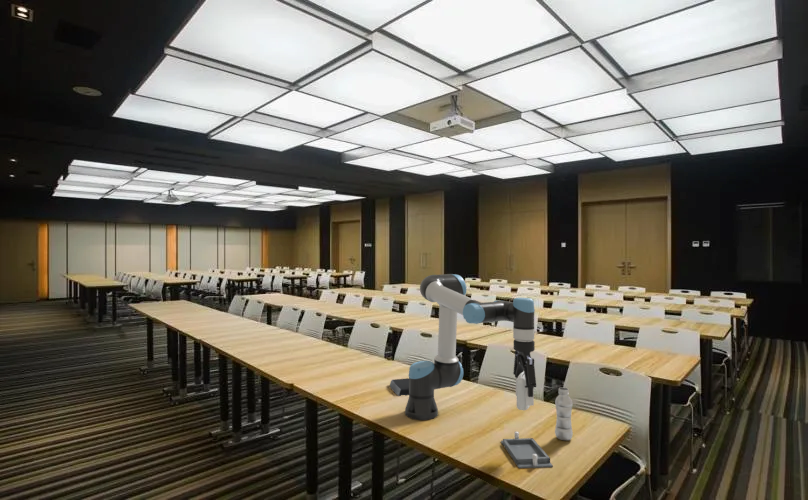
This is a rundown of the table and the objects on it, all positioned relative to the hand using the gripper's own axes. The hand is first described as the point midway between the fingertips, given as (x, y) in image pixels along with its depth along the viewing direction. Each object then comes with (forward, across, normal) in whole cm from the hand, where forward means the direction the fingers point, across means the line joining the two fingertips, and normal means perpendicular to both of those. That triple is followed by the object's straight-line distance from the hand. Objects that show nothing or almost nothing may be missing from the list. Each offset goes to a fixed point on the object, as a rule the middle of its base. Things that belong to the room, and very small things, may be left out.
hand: (524, 400), depth 152 cm
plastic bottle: (+20, +11, -20) cm, 31 cm away
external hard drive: (+20, +77, +40) cm, 89 cm away
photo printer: (+2, 0, 0) cm, 2 cm away
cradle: (+20, 0, 0) cm, 20 cm away
